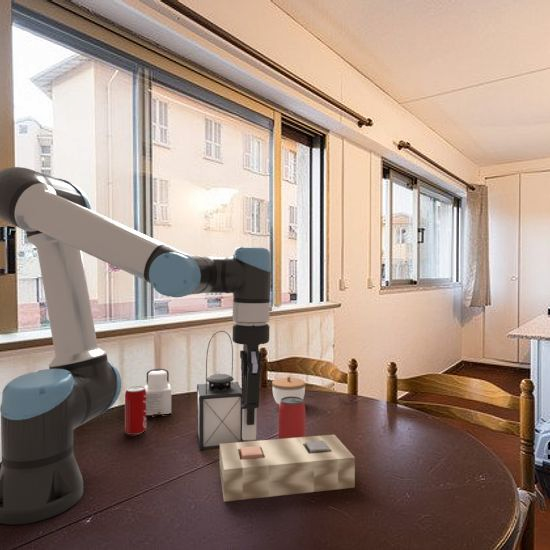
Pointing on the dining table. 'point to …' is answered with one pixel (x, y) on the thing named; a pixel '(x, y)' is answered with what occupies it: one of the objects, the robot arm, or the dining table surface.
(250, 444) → the birch block
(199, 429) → the lantern
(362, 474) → the dining table surface
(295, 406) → the beer can
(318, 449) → the metal peg
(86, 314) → the robot arm
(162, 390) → the container
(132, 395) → the soda can
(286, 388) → the lidded jar
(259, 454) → the terracotta peg
